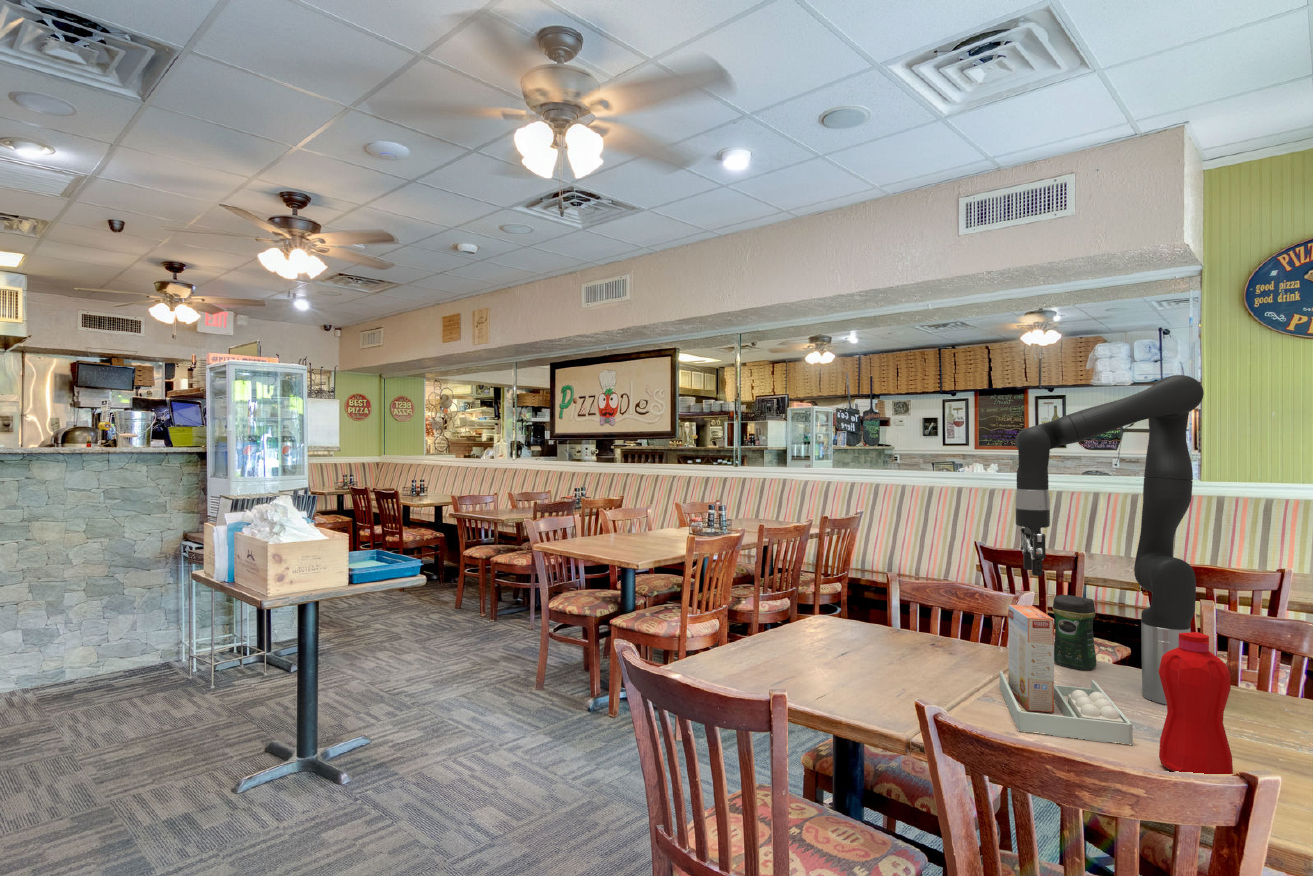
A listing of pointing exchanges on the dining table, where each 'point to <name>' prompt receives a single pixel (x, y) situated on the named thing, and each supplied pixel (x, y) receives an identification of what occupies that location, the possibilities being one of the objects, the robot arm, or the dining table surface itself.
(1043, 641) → the cracker box
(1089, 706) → the egg carton
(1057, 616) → the coffee jar
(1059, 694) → the grey shallow rectangular frame
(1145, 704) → the dining table surface
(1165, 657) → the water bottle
